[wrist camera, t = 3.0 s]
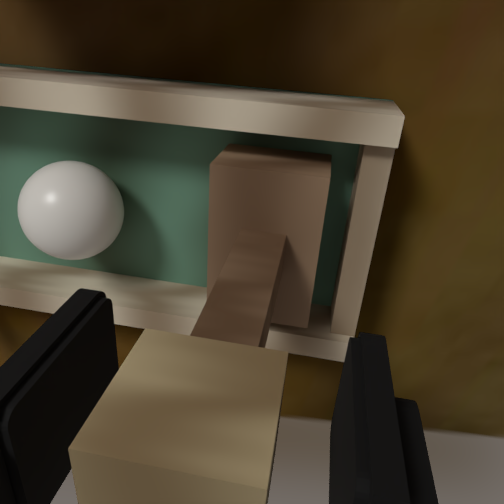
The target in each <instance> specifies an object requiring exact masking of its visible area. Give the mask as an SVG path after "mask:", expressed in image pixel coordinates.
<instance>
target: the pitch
mask: <svg viewBox="0 0 504 504" xmlns="http://www.w3.org/2000/svg"><path fill="white" fill-rule="evenodd" d="M404 118H405V116H404V115H403V113H402V112H401V111H400V109H399V108H398V106H397V105H396V104H395V102H394V101H393V100H386V99H375V98H364V97H353V96H343V95H332V94H321V93H311V92H300V91H289V90H279V89H268V88H257V87H247V86H236V85H225V84H214V83H204V82H193V81H182V80H172V79H161V78H150V77H140V76H129V75H118V74H108V73H97V72H86V71H75V70H65V69H54V68H43V67H33V66H22V65H11V64H1V63H0V305H4V306H10V307H16V308H22V309H28V310H34V311H40V312H46V313H52V314H54V313H55V312H56V311H57V310H58V309H59V308H60V307H61V306H62V305H63V304H64V303H65V302H66V301H67V300H68V299H69V298H70V297H71V296H72V295H73V294H74V293H75V292H76V291H77V290H78V289H80V288H84V289H90V290H97V291H103V292H104V293H105V294H106V298H109V299H111V301H112V305H113V315H114V324H118V325H124V326H130V327H136V328H142V329H145V328H147V329H153V330H159V331H165V332H171V333H177V334H183V335H189V336H190V334H191V332H192V330H193V328H194V326H195V324H196V322H197V320H198V318H199V316H200V314H201V311H202V309H203V307H204V305H205V303H206V301H207V262H208V218H209V174H210V163H211V162H212V161H213V160H214V159H215V158H216V157H217V156H218V155H219V154H220V153H221V152H222V151H223V150H224V149H225V147H226V146H227V145H228V144H229V143H230V144H239V145H248V146H257V147H266V148H275V149H284V150H293V151H302V152H311V153H320V154H329V155H332V158H331V177H330V184H329V191H328V197H327V204H326V210H325V217H324V223H323V230H322V236H321V243H320V249H319V256H318V262H317V269H316V275H315V282H314V288H313V295H312V301H311V308H310V314H309V321H308V327H307V328H302V327H296V326H290V325H283V324H277V323H271V324H270V329H269V333H268V337H267V342H266V346H265V348H267V349H273V350H279V351H285V352H288V353H292V354H298V355H304V356H310V357H316V358H322V359H328V360H334V361H340V362H344V360H345V356H346V351H347V346H348V342H349V338H350V337H354V336H355V331H356V327H357V322H358V318H359V313H360V308H361V304H362V299H363V295H364V290H365V285H366V281H367V276H368V272H369V267H370V262H371V258H372V253H373V249H374V244H375V239H376V235H377V230H378V225H379V221H380V216H381V212H382V207H383V202H384V198H385V193H386V189H387V184H388V179H389V175H390V170H391V166H392V161H393V156H394V152H395V148H398V145H399V141H400V136H401V132H402V127H403V123H404ZM59 161H78V162H84V163H87V164H90V165H92V166H94V167H96V168H98V169H100V170H101V171H103V172H104V173H105V174H106V175H107V176H108V177H110V178H111V180H112V181H113V182H114V183H115V185H116V186H117V188H118V190H119V192H120V194H121V197H122V200H123V205H124V219H123V224H122V227H121V230H120V232H119V234H118V236H117V237H116V239H115V240H114V241H113V242H112V244H111V245H110V246H109V247H107V248H106V249H105V250H103V251H102V252H100V253H98V254H96V255H94V256H92V257H89V258H85V259H80V260H65V259H60V258H56V257H53V256H50V255H48V254H46V253H45V252H43V251H41V250H40V249H38V248H37V247H36V246H35V245H33V244H32V243H31V242H30V240H29V239H28V238H27V237H26V235H25V234H24V232H23V230H22V228H21V225H20V222H19V219H18V212H17V211H18V199H19V195H20V192H21V190H22V188H23V186H24V184H25V183H26V181H27V180H28V179H29V178H30V177H31V176H32V175H33V174H34V173H35V172H36V171H38V170H39V169H41V168H42V167H44V166H46V165H49V164H51V163H55V162H59Z"/></svg>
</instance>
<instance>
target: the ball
mask: <svg viewBox="0 0 504 504" xmlns="http://www.w3.org/2000/svg"><path fill="white" fill-rule="evenodd" d="M17 212H18V219H19V222H20V225H21V228H22V230H23V232H24V234H25V235H26V237H27V238H28V239H29V240H30V242H31V243H32V244H33V245H35V246H36V247H37V248H38V249H40V250H41V251H43V252H45V253H46V254H48V255H50V256H53V257H56V258H60V259H65V260H80V259H85V258H89V257H92V256H94V255H96V254H98V253H100V252H102V251H103V250H105V249H106V248H107V247H109V246H110V245H111V244H112V242H113V241H114V240H115V239H116V237H117V236H118V234H119V232H120V230H121V227H122V224H123V219H124V205H123V200H122V197H121V194H120V192H119V190H118V188H117V186H116V185H115V183H114V182H113V181H112V180H111V178H110V177H108V176H107V175H106V174H105V173H104V172H103V171H101V170H100V169H98V168H96V167H94V166H92V165H90V164H87V163H84V162H78V161H59V162H55V163H51V164H49V165H46V166H44V167H42V168H41V169H39V170H38V171H36V172H35V173H34V174H33V175H32V176H31V177H30V178H29V179H28V180H27V181H26V183H25V184H24V186H23V188H22V190H21V192H20V195H19V199H18V211H17Z"/></svg>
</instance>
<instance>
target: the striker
mask: <svg viewBox="0 0 504 504" xmlns="http://www.w3.org/2000/svg"><path fill="white" fill-rule="evenodd" d="M331 158H332V155H329V154H320V153H311V152H302V151H293V150H284V149H275V148H266V147H257V146H248V145H239V144H230V143H229V144H228V145H227V146H226V147H225V149H224V150H223V151H222V152H221V153H220V154H219V155H218V156H217V157H216V158H215V159H214V160H213V161H212V162H211V163H210V174H209V218H208V262H207V301H206V303H205V305H204V307H203V309H202V311H201V314H200V316H199V318H198V320H197V322H196V324H195V326H194V328H193V330H192V332H191V334H190V336H189V335H183V334H177V333H171V332H165V331H159V330H153V329H147V328H145V330H144V331H143V333H142V334H141V336H140V337H139V339H138V341H137V342H136V344H135V345H134V347H133V348H132V350H131V351H130V353H129V355H128V356H127V358H126V359H125V361H124V362H123V364H122V365H121V367H120V369H119V370H118V372H117V373H116V375H115V376H114V378H113V379H112V381H111V383H110V384H109V386H108V387H107V389H106V390H105V392H104V393H103V395H102V397H101V398H100V400H99V401H98V403H97V404H96V406H95V407H94V409H93V411H92V412H91V414H90V415H89V417H88V418H87V420H86V421H85V423H84V425H83V426H82V428H81V429H80V431H79V432H78V434H77V435H76V437H75V439H74V440H73V442H72V443H71V445H70V446H69V448H68V451H69V457H70V462H71V467H72V473H73V478H74V484H75V488H76V495H77V500H78V504H267V503H268V497H269V489H270V483H271V476H272V470H273V463H274V456H275V449H276V441H277V434H278V427H279V419H280V412H281V404H282V397H283V389H284V382H285V375H286V367H287V360H288V352H285V351H279V350H273V349H267V348H265V346H266V342H267V337H268V333H269V329H270V324H271V323H277V324H283V325H290V326H296V327H302V328H307V327H308V321H309V314H310V308H311V301H312V295H313V288H314V282H315V275H316V269H317V262H318V256H319V249H320V243H321V236H322V230H323V223H324V217H325V210H326V204H327V197H328V191H329V184H330V177H331Z"/></svg>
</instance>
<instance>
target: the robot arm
mask: <svg viewBox="0 0 504 504" xmlns="http://www.w3.org/2000/svg"><path fill="white" fill-rule="evenodd" d="M118 370H119V368H118V357H117V347H116V336H115V326H114V315H113V305H112V301H111V299H109V298H106V294H105V293H104V292H103V291H97V290H90V289H84V288H80V289H78V290H77V291H76V292H75V293H74V294H73V295H72V296H71V297H70V298H69V299H68V300H67V301H66V302H65V303H64V304H63V305H62V306H61V307H60V308H59V309H58V310H57V311H56V312H55V313H54V314H53V315H52V316H51V317H50V318H49V319H48V320H47V321H46V322H45V323H44V324H43V325H42V326H41V327H40V328H39V329H38V330H37V331H36V332H35V333H34V334H33V335H32V336H31V337H30V338H29V339H28V340H27V341H26V342H25V343H24V344H23V345H22V346H21V347H20V348H19V349H18V350H17V351H16V352H15V353H14V354H13V355H12V356H11V357H10V358H9V359H8V360H7V361H6V362H5V363H4V364H3V365H2V366H1V367H0V504H50V503H51V501H52V500H53V498H54V496H55V495H56V493H57V491H58V490H59V488H60V487H61V485H62V483H63V482H64V480H65V478H66V477H67V475H68V473H69V472H70V470H71V468H72V467H71V462H70V457H69V451H68V448H69V446H70V445H71V443H72V442H73V440H74V439H75V437H76V435H77V434H78V432H79V431H80V429H81V428H82V426H83V425H84V423H85V421H86V420H87V418H88V417H89V415H90V414H91V412H92V411H93V409H94V407H95V406H96V404H97V403H98V401H99V400H100V398H101V397H102V395H103V393H104V392H105V390H106V389H107V387H108V386H109V384H110V383H111V381H112V379H113V378H114V376H115V375H116V373H117V372H118ZM329 480H330V481H329V482H330V483H329V504H438V499H437V494H436V490H435V485H434V480H433V475H432V471H431V466H430V461H429V456H428V451H427V447H426V442H425V437H424V432H423V428H422V423H421V418H420V413H419V409H418V406H417V403H416V402H415V401H414V400H408V399H402V398H396V397H394V390H393V384H392V377H391V371H390V364H389V357H388V351H387V344H386V338H385V336H382V335H376V334H369V333H363V332H360V333H359V336H358V338H354V337H350V338H349V342H348V346H347V351H346V356H345V360H344V365H343V370H342V375H341V379H340V384H339V389H338V394H337V398H336V403H335V408H334V413H333V417H332V423H331V433H330V479H329Z"/></svg>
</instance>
